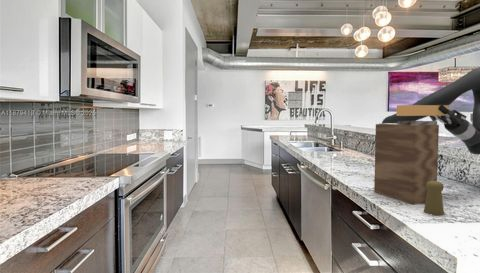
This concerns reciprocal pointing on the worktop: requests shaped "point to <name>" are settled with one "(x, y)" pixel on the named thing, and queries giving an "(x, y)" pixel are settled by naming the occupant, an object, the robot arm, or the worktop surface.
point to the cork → (434, 198)
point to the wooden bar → (419, 110)
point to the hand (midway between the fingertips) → (434, 107)
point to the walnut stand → (406, 159)
